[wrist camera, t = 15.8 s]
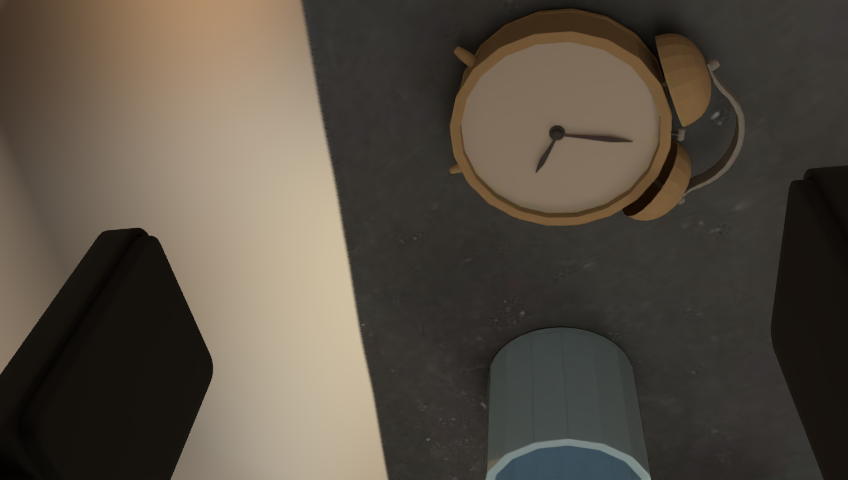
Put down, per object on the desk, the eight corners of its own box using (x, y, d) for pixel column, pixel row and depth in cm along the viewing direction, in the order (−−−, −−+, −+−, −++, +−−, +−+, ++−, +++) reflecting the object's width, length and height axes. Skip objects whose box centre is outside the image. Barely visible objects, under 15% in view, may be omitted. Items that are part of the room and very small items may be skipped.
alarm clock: (447, 21, 37) (778, 59, 34) (470, -12, 41) (769, 19, 38) (441, 213, 44) (717, 260, 41) (461, 169, 48) (715, 209, 45)
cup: (459, 365, 55) (450, 477, 48) (583, 304, 51) (594, 417, 43) (540, 444, 60) (543, 558, 52) (661, 394, 55) (684, 511, 48)
